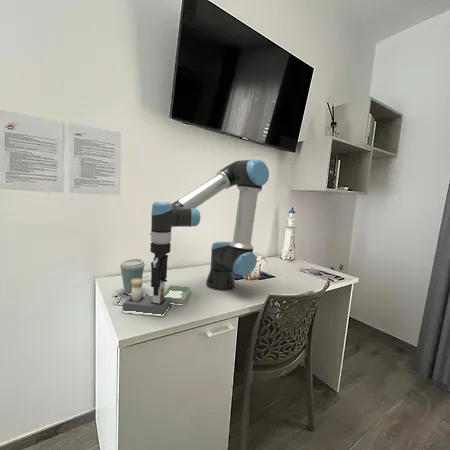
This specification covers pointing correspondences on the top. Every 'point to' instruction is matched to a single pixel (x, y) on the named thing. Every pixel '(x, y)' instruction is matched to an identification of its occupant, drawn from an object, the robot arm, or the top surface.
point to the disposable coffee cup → (131, 272)
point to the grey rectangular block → (146, 305)
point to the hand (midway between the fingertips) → (158, 299)
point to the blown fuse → (161, 292)
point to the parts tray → (185, 294)
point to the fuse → (136, 289)
